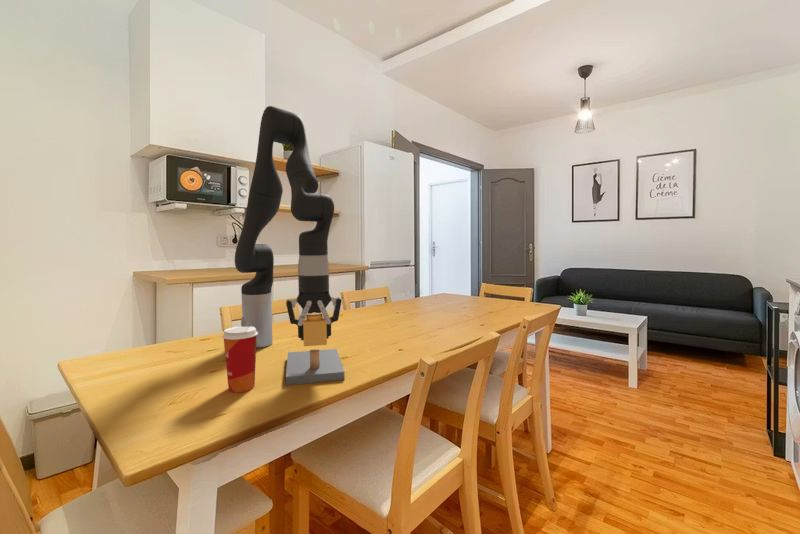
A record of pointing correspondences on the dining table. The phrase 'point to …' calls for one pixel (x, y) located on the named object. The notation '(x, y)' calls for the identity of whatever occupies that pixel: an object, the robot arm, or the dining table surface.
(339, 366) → the board
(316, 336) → the orange toy brick
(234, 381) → the paper cup
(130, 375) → the dining table surface
